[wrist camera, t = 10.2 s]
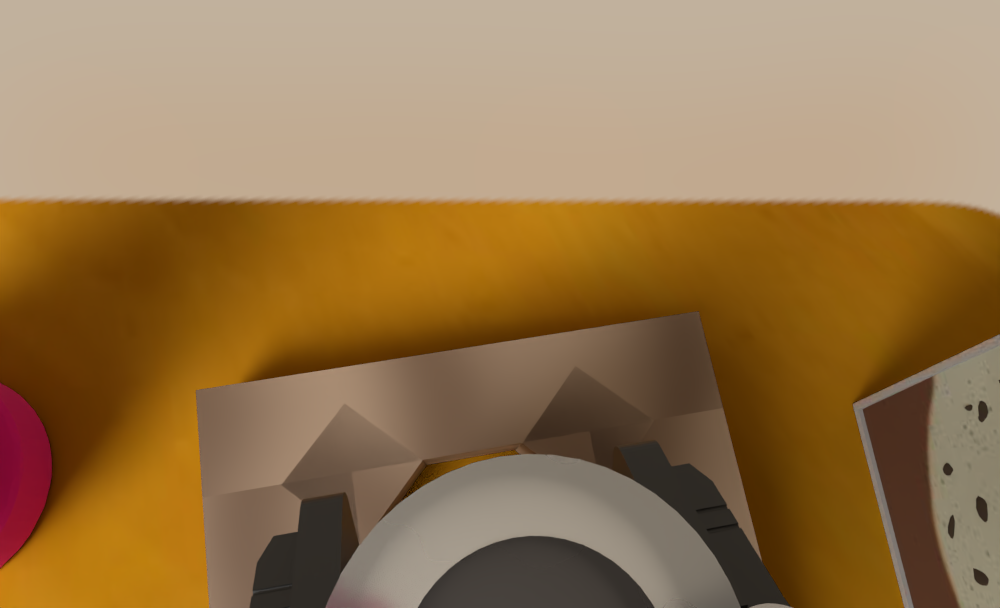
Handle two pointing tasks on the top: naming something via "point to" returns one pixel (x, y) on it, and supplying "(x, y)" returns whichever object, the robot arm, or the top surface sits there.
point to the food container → (940, 478)
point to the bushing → (533, 544)
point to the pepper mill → (21, 471)
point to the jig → (449, 428)
